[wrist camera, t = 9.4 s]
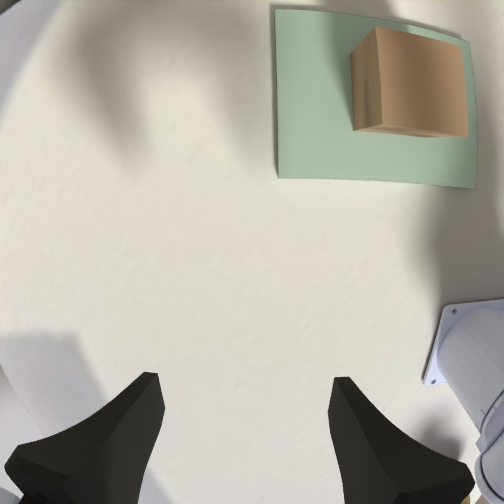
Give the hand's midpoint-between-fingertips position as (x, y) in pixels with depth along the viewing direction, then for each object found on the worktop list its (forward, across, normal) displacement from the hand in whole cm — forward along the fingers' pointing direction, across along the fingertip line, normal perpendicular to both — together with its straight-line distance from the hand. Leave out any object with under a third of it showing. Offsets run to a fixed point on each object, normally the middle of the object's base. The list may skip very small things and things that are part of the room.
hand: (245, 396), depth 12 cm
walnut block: (+9, -8, -13) cm, 18 cm away
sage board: (+10, -8, -13) cm, 19 cm away
